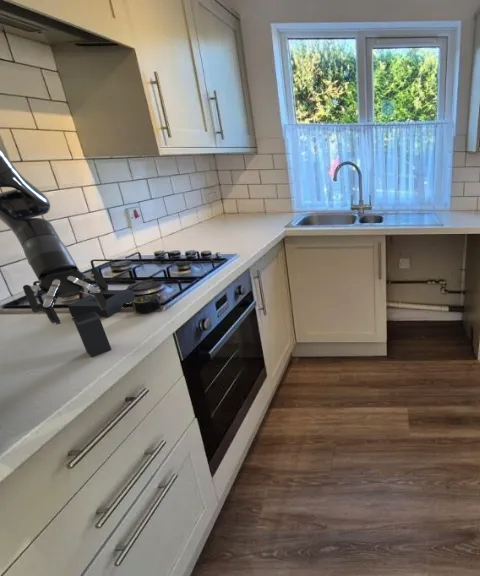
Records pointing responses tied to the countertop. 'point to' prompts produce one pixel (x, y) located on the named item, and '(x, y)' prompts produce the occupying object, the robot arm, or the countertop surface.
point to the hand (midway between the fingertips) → (82, 315)
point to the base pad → (89, 304)
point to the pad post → (92, 333)
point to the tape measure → (146, 303)
